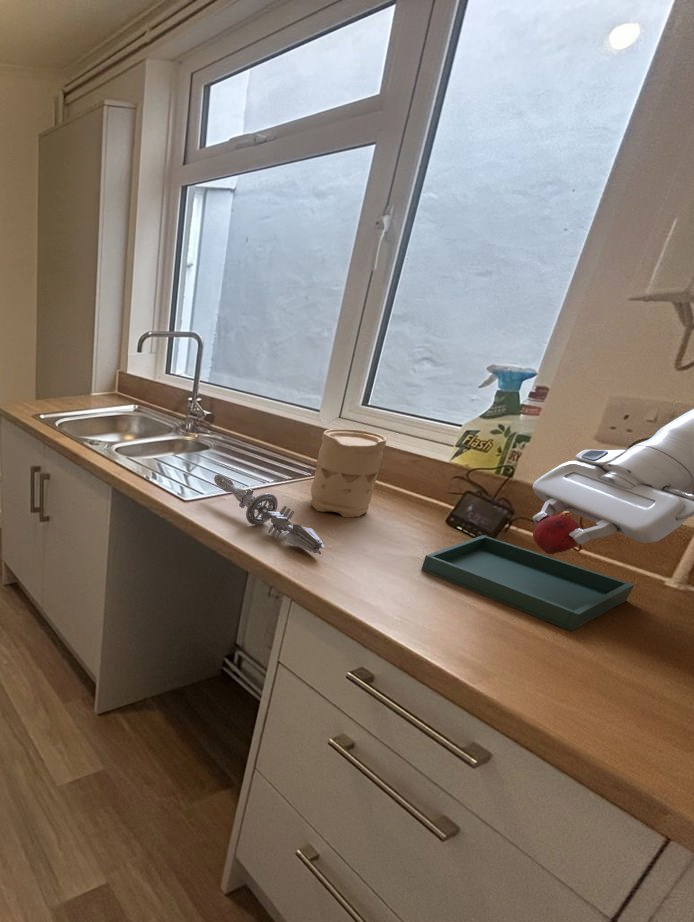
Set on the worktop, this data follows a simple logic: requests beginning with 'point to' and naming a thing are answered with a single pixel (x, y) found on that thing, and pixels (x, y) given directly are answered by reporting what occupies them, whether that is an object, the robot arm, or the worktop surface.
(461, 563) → the tray
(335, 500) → the container
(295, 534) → the spaceship
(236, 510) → the worktop surface
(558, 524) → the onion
